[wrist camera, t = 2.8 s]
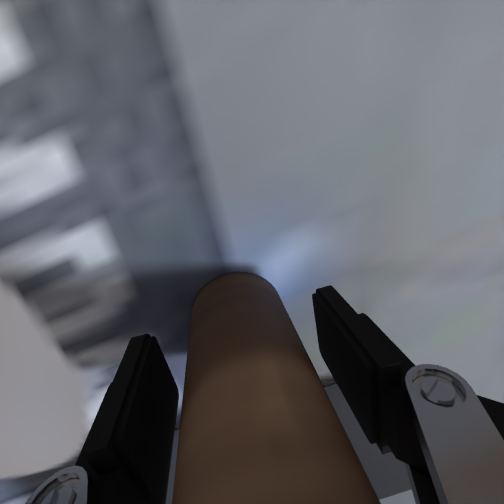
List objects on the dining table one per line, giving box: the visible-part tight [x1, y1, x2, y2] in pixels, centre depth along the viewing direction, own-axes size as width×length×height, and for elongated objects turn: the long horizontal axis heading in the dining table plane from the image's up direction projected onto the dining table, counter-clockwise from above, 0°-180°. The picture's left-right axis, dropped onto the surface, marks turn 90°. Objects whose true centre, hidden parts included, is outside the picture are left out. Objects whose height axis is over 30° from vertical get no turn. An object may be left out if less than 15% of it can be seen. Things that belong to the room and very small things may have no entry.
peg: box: [172, 272, 381, 504], centre depth 7 cm, size 4×4×10 cm
